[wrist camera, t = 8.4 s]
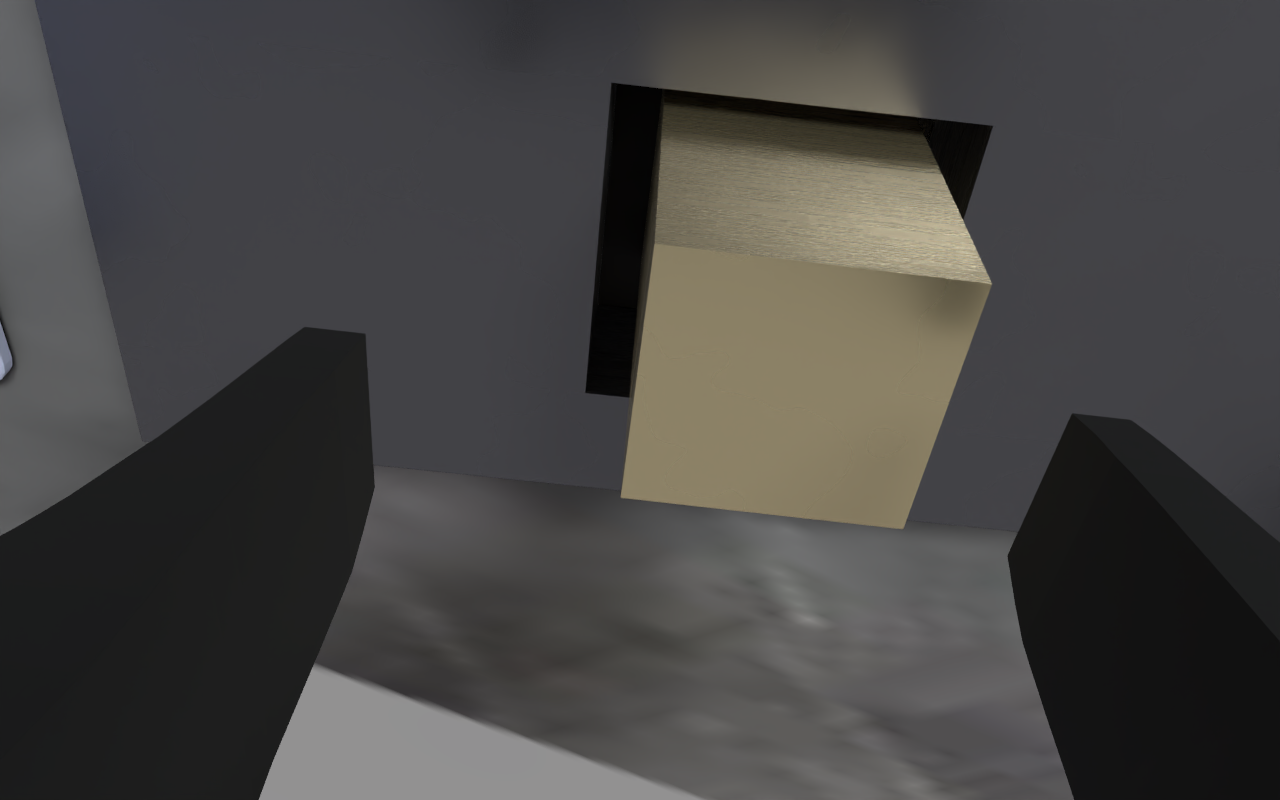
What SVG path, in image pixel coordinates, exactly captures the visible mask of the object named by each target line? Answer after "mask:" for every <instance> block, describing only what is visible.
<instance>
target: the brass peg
mask: <svg viewBox="0 0 1280 800" xmlns="http://www.w3.org/2000/svg"><path fill="white" fill-rule="evenodd" d="M991 286H992V283H991V281H990V278H989V276H988V274H987V272H986V270H985V267H984V265H983V263H982V261H981V259H980V256H979V254H978V252H977V250H976V248H975V246H974V243H973V241H972V239H971V237H970V235H969V232H968V230H967V228H966V226H965V224H964V221H963V219H962V217H961V215H960V213H959V211H958V208H957V206H956V204H955V202H954V200H953V197H952V195H951V193H950V191H949V189H948V186H947V184H946V182H945V180H944V178H943V176H942V173H941V171H940V169H939V167H938V165H937V162H936V160H935V158H934V156H933V154H932V151H931V149H930V147H929V145H928V143H927V141H926V138H925V136H924V134H923V132H922V130H921V127H920V125H919V123H918V121H917V119H916V117H911V116H902V115H894V114H885V113H876V112H867V111H858V110H849V109H840V108H832V107H823V106H814V105H805V104H796V103H787V102H779V101H770V100H761V99H752V98H743V97H734V96H725V95H717V94H708V93H699V92H690V91H681V90H672V89H662V97H661V105H660V113H659V121H658V129H657V137H656V145H655V153H654V161H653V169H652V177H651V184H650V192H649V200H648V208H647V216H646V224H645V232H644V240H643V248H642V256H641V268H640V279H639V291H638V303H637V314H636V326H635V337H634V349H633V361H632V372H631V384H630V395H629V407H628V419H627V430H626V442H625V453H624V465H623V477H622V488H621V498H627V499H636V500H645V501H654V502H663V503H672V504H681V505H690V506H699V507H708V508H717V509H726V510H735V511H744V512H753V513H762V514H771V515H780V516H789V517H798V518H807V519H816V520H825V521H834V522H843V523H852V524H861V525H870V526H879V527H888V528H897V529H903V528H904V525H905V523H906V520H907V517H908V514H909V512H910V509H911V506H912V503H913V501H914V498H915V495H916V492H917V490H918V487H919V484H920V481H921V479H922V476H923V473H924V470H925V468H926V465H927V462H928V459H929V457H930V454H931V451H932V448H933V446H934V443H935V440H936V437H937V435H938V432H939V429H940V426H941V424H942V421H943V418H944V415H945V412H946V410H947V407H948V404H949V401H950V399H951V396H952V393H953V390H954V388H955V385H956V382H957V379H958V377H959V374H960V371H961V368H962V366H963V363H964V360H965V357H966V355H967V352H968V349H969V346H970V344H971V341H972V338H973V335H974V333H975V330H976V327H977V324H978V322H979V319H980V316H981V313H982V310H983V308H984V305H985V302H986V299H987V297H988V294H989V291H990V288H991Z"/></svg>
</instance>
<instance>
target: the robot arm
mask: <svg viewBox="0 0 1280 800" xmlns="http://www.w3.org/2000/svg"><path fill="white" fill-rule="evenodd" d="M11 367H12V357H11V353H10V350H9V347H8V344H7V341H6V338H5V335H4V332H3V328H2V325H1V322H0V380H1V379H2V378H3V377H4V376H5V375H6V374H7V373H8V372H9V371H10V369H11ZM374 488H375V485H374V468H373V452H372V435H371V418H370V401H369V384H368V368H367V351H366V334H365V333H356V332H347V331H338V330H329V329H320V328H311V327H304V328H302V329H301V330H299V331H298V332H297V333H295V334H294V335H292V336H291V337H290V338H288V339H287V340H286V341H284V342H283V343H282V344H281V345H279V346H278V347H277V348H275V349H274V350H273V351H271V352H270V353H269V354H267V355H266V356H265V357H264V358H262V359H261V360H260V361H258V362H257V363H256V364H254V365H253V366H252V367H250V368H249V369H248V370H247V371H245V372H244V373H243V374H241V375H240V376H239V377H238V378H236V379H235V380H234V381H232V382H231V383H230V384H228V385H227V386H226V387H224V388H223V389H222V390H220V391H219V392H218V393H217V394H215V395H214V396H213V397H211V398H210V399H209V400H207V401H206V402H205V403H203V404H202V405H201V406H199V407H198V408H197V409H195V410H194V411H192V412H191V413H190V414H188V415H187V416H186V417H184V418H183V419H182V420H180V421H179V422H177V423H176V424H175V425H173V426H172V427H171V428H169V429H168V430H167V431H165V432H164V433H162V434H161V435H160V436H158V437H157V438H155V439H154V440H152V441H151V442H149V443H148V444H146V445H145V446H143V447H142V448H140V449H139V450H137V451H136V452H134V453H133V454H131V455H130V456H128V457H127V458H125V459H124V460H122V461H121V462H119V463H118V464H116V465H115V466H113V467H112V468H110V469H109V470H107V471H106V472H104V473H103V474H101V475H100V476H98V477H97V478H95V479H94V480H92V481H91V482H89V483H88V484H86V485H85V486H83V487H82V488H80V489H79V490H77V491H76V492H74V493H73V494H71V495H70V496H68V497H66V498H65V499H63V500H61V501H60V502H58V503H57V504H55V505H53V506H52V507H50V508H48V509H47V510H45V511H43V512H42V513H40V514H38V515H36V516H35V517H33V518H31V519H30V520H28V521H26V522H25V523H23V524H21V525H19V526H18V527H16V528H14V529H12V530H11V531H9V532H7V533H5V534H3V535H1V536H0V800H259V797H260V794H261V792H262V789H263V786H264V784H265V781H266V778H267V775H268V773H269V769H270V767H271V765H272V762H273V759H274V757H275V755H276V752H277V750H278V747H279V745H280V743H281V740H282V738H283V736H284V733H285V731H286V729H287V726H288V724H289V722H290V719H291V716H292V714H293V712H294V709H295V707H296V705H297V702H298V700H299V698H300V695H301V693H302V691H303V688H304V686H305V683H306V681H307V678H308V676H309V674H310V672H311V669H312V667H313V665H314V662H315V660H316V657H317V655H318V653H319V650H320V648H321V646H322V643H323V641H324V638H325V636H326V634H327V631H328V629H329V626H330V624H331V621H332V619H333V617H334V614H335V612H336V609H337V607H338V605H339V602H340V600H341V597H342V595H343V592H344V590H345V587H346V585H347V582H348V580H349V577H350V575H351V572H352V569H353V566H354V562H355V559H356V555H357V552H358V548H359V544H360V541H361V537H362V534H363V530H364V526H365V522H366V519H367V515H368V511H369V507H370V503H371V499H372V496H373V492H374ZM1008 562H1009V568H1010V574H1011V580H1012V587H1013V593H1014V599H1015V605H1016V610H1017V615H1018V621H1019V626H1020V631H1021V636H1022V641H1023V645H1024V648H1025V651H1026V654H1027V658H1028V661H1029V664H1030V667H1031V670H1032V673H1033V677H1034V680H1035V683H1036V686H1037V689H1038V692H1039V695H1040V698H1041V701H1042V704H1043V707H1044V710H1045V714H1046V716H1047V719H1048V722H1049V725H1050V728H1051V731H1052V734H1053V737H1054V740H1055V743H1056V746H1057V749H1058V752H1059V755H1060V758H1061V761H1062V764H1063V767H1064V770H1065V773H1066V776H1067V779H1068V782H1069V785H1070V788H1071V791H1072V794H1073V797H1074V800H1280V542H1279V541H1278V540H1276V539H1275V538H1274V537H1273V536H1272V535H1270V534H1269V533H1268V532H1267V531H1266V530H1264V529H1263V528H1262V527H1261V526H1260V525H1259V524H1257V523H1256V522H1255V521H1254V520H1253V519H1252V518H1250V517H1249V516H1248V515H1247V514H1246V513H1244V512H1243V511H1242V510H1241V509H1240V508H1239V507H1237V506H1236V505H1235V504H1234V503H1233V502H1232V501H1230V500H1229V499H1228V498H1227V497H1226V496H1225V495H1223V494H1222V493H1221V492H1220V491H1219V490H1218V489H1216V488H1215V487H1214V486H1213V485H1212V484H1210V483H1209V482H1208V481H1207V480H1206V479H1205V478H1203V477H1202V476H1201V475H1200V474H1199V473H1198V472H1196V471H1195V470H1194V469H1193V468H1192V467H1190V466H1189V465H1188V464H1187V463H1186V462H1184V461H1183V460H1182V459H1181V458H1180V457H1178V456H1177V455H1176V454H1175V453H1174V452H1172V451H1171V450H1170V449H1169V448H1167V447H1166V446H1165V445H1164V444H1162V443H1161V442H1160V441H1159V440H1157V439H1156V438H1155V437H1154V436H1152V435H1151V434H1150V433H1148V432H1147V431H1146V430H1144V429H1143V428H1141V427H1140V426H1139V425H1137V424H1136V423H1135V422H1133V421H1132V420H1128V419H1119V418H1110V417H1101V416H1093V415H1084V414H1075V413H1072V414H1071V417H1070V419H1069V421H1068V423H1067V425H1066V428H1065V430H1064V432H1063V434H1062V436H1061V439H1060V441H1059V443H1058V445H1057V448H1056V450H1055V452H1054V454H1053V456H1052V459H1051V461H1050V463H1049V465H1048V467H1047V470H1046V472H1045V474H1044V476H1043V478H1042V481H1041V483H1040V485H1039V487H1038V489H1037V492H1036V494H1035V496H1034V498H1033V501H1032V503H1031V505H1030V507H1029V509H1028V512H1027V514H1026V516H1025V518H1024V520H1023V523H1022V525H1021V527H1020V529H1019V531H1018V534H1017V536H1016V538H1015V540H1014V542H1013V545H1012V547H1011V549H1010V551H1009V554H1008Z"/></svg>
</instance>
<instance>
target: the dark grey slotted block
mask: <svg viewBox="0 0 1280 800" xmlns="http://www.w3.org/2000/svg"><path fill="white" fill-rule="evenodd" d="M35 3H36V7H37V11H38V15H39V19H40V24H41V28H42V32H43V36H44V40H45V44H46V48H47V52H48V56H49V61H50V65H51V69H52V73H53V77H54V81H55V85H56V89H57V93H58V97H59V102H60V106H61V110H62V114H63V118H64V122H65V126H66V130H67V134H68V139H69V143H70V147H71V151H72V155H73V159H74V163H75V167H76V171H77V176H78V180H79V184H80V188H81V192H82V196H83V200H84V204H85V208H86V212H87V217H88V221H89V225H90V229H91V233H92V237H93V241H94V245H95V249H96V254H97V258H98V262H99V266H100V270H101V274H102V278H103V282H104V286H105V290H106V295H107V299H108V303H109V307H110V311H111V315H112V319H113V323H114V327H115V332H116V336H117V340H118V344H119V348H120V352H121V356H122V360H123V364H124V368H125V373H126V377H127V381H128V385H129V389H130V393H131V397H132V401H133V405H134V410H135V414H136V418H137V422H138V426H139V430H140V434H141V438H142V441H146V442H151V441H152V440H154V439H155V438H157V437H158V436H160V435H161V434H162V433H164V432H165V431H167V430H168V429H169V428H171V427H172V426H173V425H175V424H176V423H177V422H179V421H180V420H182V419H183V418H184V417H186V416H187V415H188V414H190V413H191V412H192V411H194V410H195V409H197V408H198V407H199V406H201V405H202V404H203V403H205V402H206V401H207V400H209V399H210V398H211V397H213V396H214V395H215V394H217V393H218V392H219V391H220V390H222V389H223V388H224V387H226V386H227V385H228V384H230V383H231V382H232V381H234V380H235V379H236V378H238V377H239V376H240V375H241V374H243V373H244V372H245V371H247V370H248V369H249V368H250V367H252V366H253V365H254V364H256V363H257V362H258V361H260V360H261V359H262V358H264V357H265V356H266V355H267V354H269V353H270V352H271V351H273V350H274V349H275V348H277V347H278V346H279V345H281V344H282V343H283V342H284V341H286V340H287V339H288V338H290V337H291V336H292V335H294V334H295V333H297V332H298V331H299V330H301V329H302V328H304V327H311V328H320V329H329V330H338V331H347V332H356V333H365V334H366V351H367V368H368V384H369V401H370V418H371V435H372V452H373V465H378V466H388V467H398V468H407V469H417V470H427V471H436V472H446V473H456V474H465V475H475V476H485V477H494V478H504V479H514V480H523V481H533V482H543V483H552V484H562V485H572V486H581V487H591V488H601V489H610V490H620V491H621V488H622V477H623V465H624V453H625V442H626V430H627V419H628V407H629V395H630V384H631V372H632V361H633V349H634V337H635V326H636V314H637V309H633V308H624V307H614V306H605V305H598V300H599V289H600V278H601V266H602V255H603V243H604V232H605V220H606V209H607V197H608V186H609V175H610V163H611V152H612V140H613V129H614V117H615V106H616V95H617V83H619V84H628V85H637V86H646V87H655V88H663V89H672V90H681V91H690V92H699V93H708V94H717V95H725V96H734V97H743V98H752V99H761V100H770V101H779V102H787V103H796V104H805V105H814V106H823V107H832V108H840V109H849V110H858V111H867V112H876V113H885V114H894V115H902V116H911V117H920V118H929V119H935V122H934V125H933V129H932V132H931V136H930V139H929V143H928V145H929V147H930V149H931V151H932V154H933V156H934V158H935V160H936V162H937V165H938V167H939V169H940V171H941V173H942V176H943V178H944V180H945V182H946V184H947V186H948V189H949V191H950V193H951V195H952V197H953V200H954V202H955V204H956V206H957V208H958V211H959V213H960V215H961V217H962V219H963V221H964V224H965V226H966V228H967V230H968V232H969V235H970V237H971V239H972V241H973V243H974V246H975V248H976V250H977V252H978V254H979V256H980V259H981V261H982V263H983V265H984V267H985V270H986V272H987V274H988V276H989V278H990V281H991V283H992V286H991V288H990V291H989V294H988V297H987V299H986V302H985V305H984V308H983V310H982V313H981V316H980V319H979V322H978V324H977V327H976V330H975V333H974V335H973V338H972V341H971V344H970V346H969V349H968V352H967V355H966V357H965V360H964V363H963V366H962V368H961V371H960V374H959V377H958V379H957V382H956V385H955V388H954V390H953V393H952V396H951V399H950V401H949V404H948V407H947V410H946V412H945V415H944V418H943V421H942V424H941V426H940V429H939V432H938V435H937V437H936V440H935V443H934V446H933V448H932V451H931V454H930V457H929V459H928V462H927V465H926V468H925V470H924V473H923V476H922V479H921V481H920V484H919V487H918V490H917V492H916V495H915V498H914V501H913V503H912V506H911V509H910V512H909V514H908V517H907V520H910V521H920V522H929V523H939V524H949V525H958V526H968V527H978V528H987V529H997V530H1007V531H1016V532H1018V531H1019V529H1020V527H1021V525H1022V523H1023V520H1024V518H1025V516H1026V514H1027V512H1028V509H1029V507H1030V505H1031V503H1032V501H1033V498H1034V496H1035V494H1036V492H1037V489H1038V487H1039V485H1040V483H1041V481H1042V478H1043V476H1044V474H1045V472H1046V470H1047V467H1048V465H1049V463H1050V461H1051V459H1052V456H1053V454H1054V452H1055V450H1056V448H1057V445H1058V443H1059V441H1060V439H1061V436H1062V434H1063V432H1064V430H1065V428H1066V425H1067V423H1068V421H1069V419H1070V417H1071V414H1072V413H1075V414H1084V415H1093V416H1101V417H1110V418H1119V419H1128V420H1132V421H1133V422H1135V423H1136V424H1137V425H1139V426H1140V427H1141V428H1143V429H1144V430H1146V431H1147V432H1148V433H1150V434H1151V435H1152V436H1154V437H1155V438H1156V439H1157V440H1159V441H1160V442H1161V443H1162V444H1164V445H1165V446H1166V447H1167V448H1169V449H1170V450H1171V451H1172V452H1174V453H1175V454H1176V455H1177V456H1178V457H1180V458H1181V459H1182V460H1183V461H1184V462H1186V463H1187V464H1188V465H1189V466H1190V467H1192V468H1193V469H1194V470H1195V471H1196V472H1198V473H1199V474H1200V475H1201V476H1202V477H1203V478H1205V479H1206V480H1207V481H1208V482H1209V483H1210V484H1212V485H1213V486H1214V487H1215V488H1216V489H1218V490H1219V491H1220V492H1221V493H1222V494H1223V495H1225V496H1226V497H1227V498H1228V499H1229V500H1230V501H1232V502H1233V503H1234V504H1235V505H1236V506H1237V507H1239V508H1240V509H1241V510H1242V511H1243V512H1244V513H1246V514H1247V515H1248V516H1249V517H1250V518H1252V519H1253V520H1254V521H1255V522H1256V523H1257V524H1259V525H1260V526H1261V527H1262V528H1263V529H1264V530H1266V531H1267V532H1268V533H1269V534H1270V535H1272V536H1273V537H1274V538H1275V539H1276V540H1278V541H1279V542H1280V0H35Z"/></svg>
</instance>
